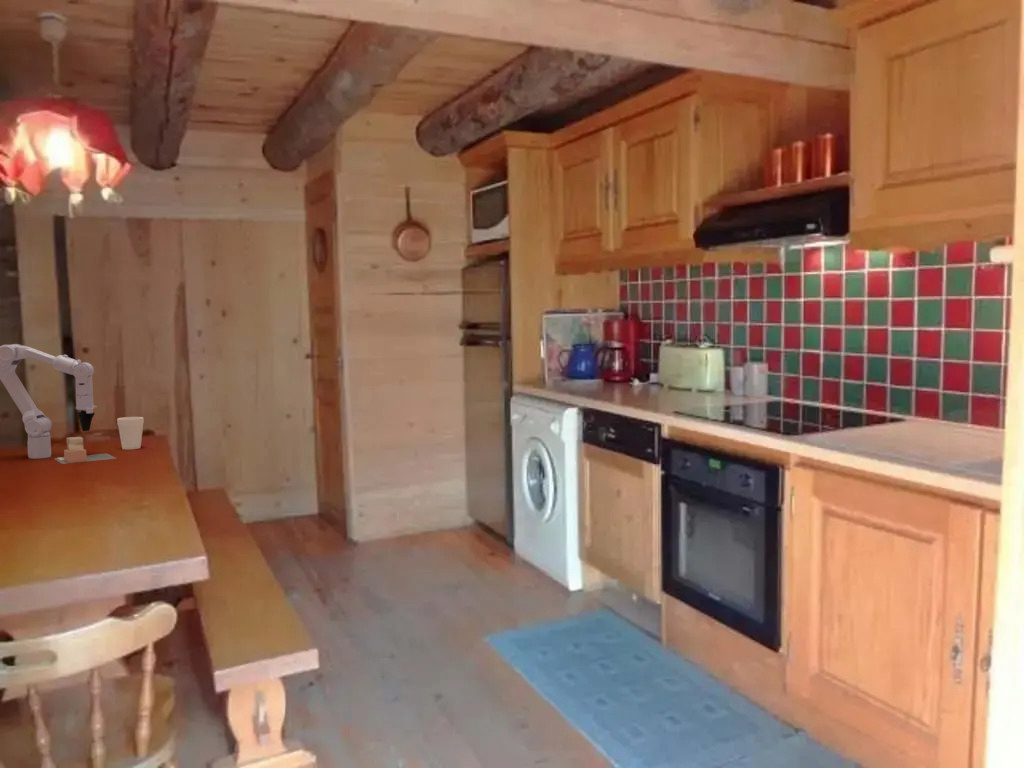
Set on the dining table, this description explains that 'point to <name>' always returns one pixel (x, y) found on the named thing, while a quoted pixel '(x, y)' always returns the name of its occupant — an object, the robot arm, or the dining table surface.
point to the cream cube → (75, 444)
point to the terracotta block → (75, 456)
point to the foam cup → (130, 431)
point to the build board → (92, 458)
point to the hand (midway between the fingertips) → (85, 430)
